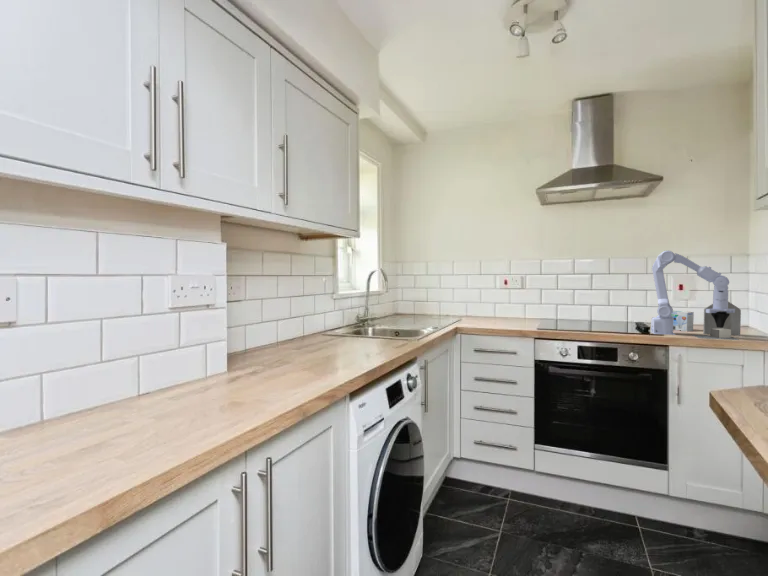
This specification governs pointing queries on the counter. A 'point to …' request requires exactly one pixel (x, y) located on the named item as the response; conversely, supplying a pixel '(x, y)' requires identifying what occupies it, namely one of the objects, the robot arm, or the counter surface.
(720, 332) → the cream block
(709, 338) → the rubber mat
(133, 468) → the counter surface
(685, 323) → the light bulb box
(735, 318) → the gray chamfered slab
